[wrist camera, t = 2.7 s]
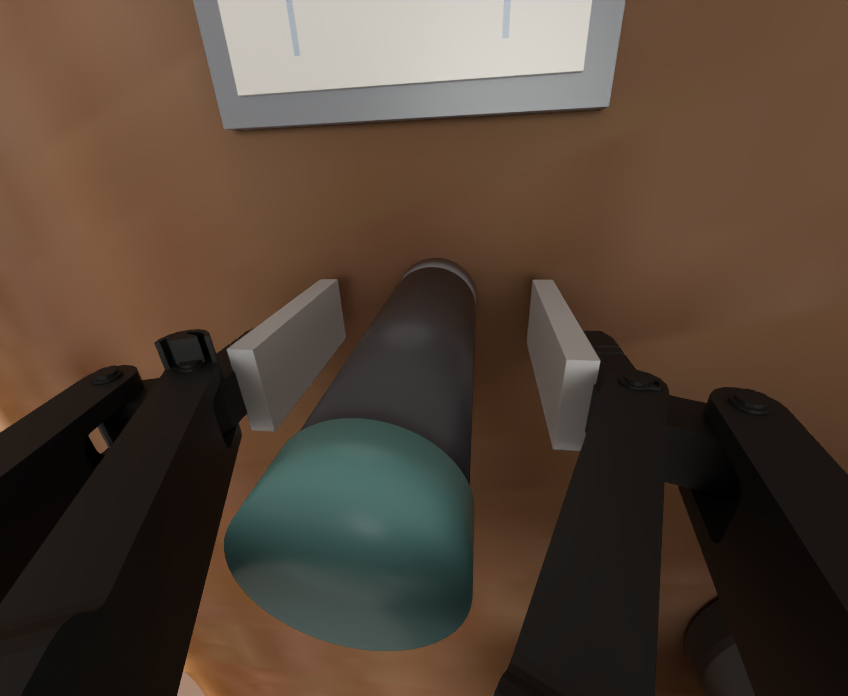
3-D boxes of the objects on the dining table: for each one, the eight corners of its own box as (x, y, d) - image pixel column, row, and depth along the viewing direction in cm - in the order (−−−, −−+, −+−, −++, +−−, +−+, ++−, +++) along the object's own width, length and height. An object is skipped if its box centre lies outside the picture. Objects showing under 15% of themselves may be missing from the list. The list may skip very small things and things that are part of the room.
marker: (477, 335, 18) (469, 664, 6) (399, 334, 18) (258, 634, 7) (479, 255, 16) (475, 503, 4) (393, 256, 16) (190, 479, 5)
